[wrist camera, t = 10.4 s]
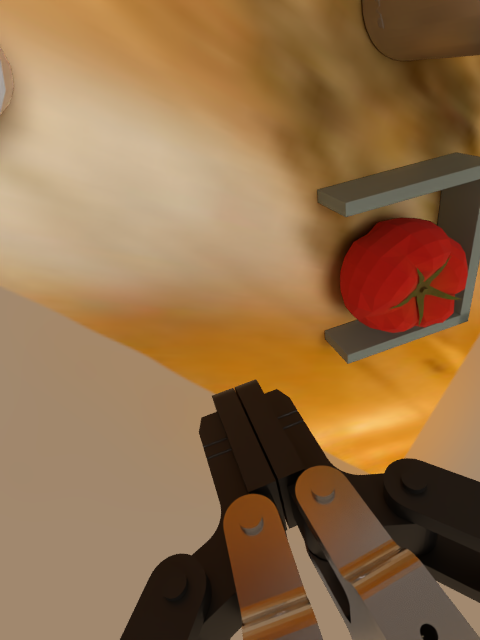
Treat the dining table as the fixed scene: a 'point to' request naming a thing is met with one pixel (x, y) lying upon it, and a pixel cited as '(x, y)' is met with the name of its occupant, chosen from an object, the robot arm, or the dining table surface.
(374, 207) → the crate
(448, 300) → the tomato
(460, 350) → the dining table surface
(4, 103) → the white cylindrical piece
